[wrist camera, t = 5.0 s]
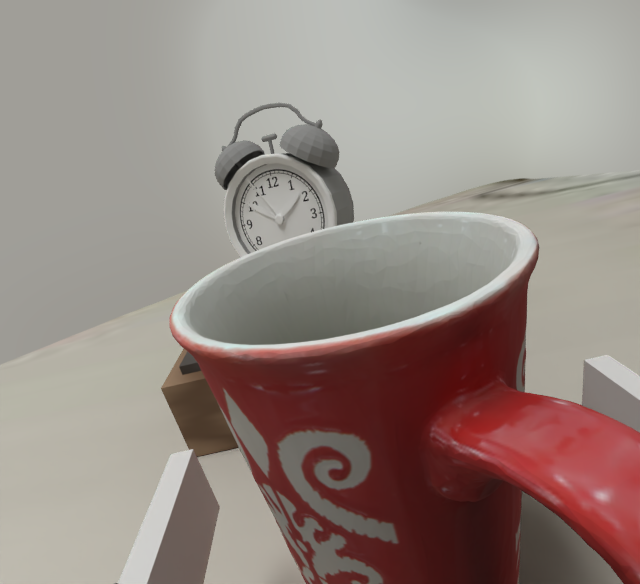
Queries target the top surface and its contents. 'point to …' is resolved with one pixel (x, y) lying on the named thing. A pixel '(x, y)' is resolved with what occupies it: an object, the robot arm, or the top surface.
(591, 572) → the top surface
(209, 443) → the walnut stand
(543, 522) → the top surface
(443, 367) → the mug
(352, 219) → the alarm clock
